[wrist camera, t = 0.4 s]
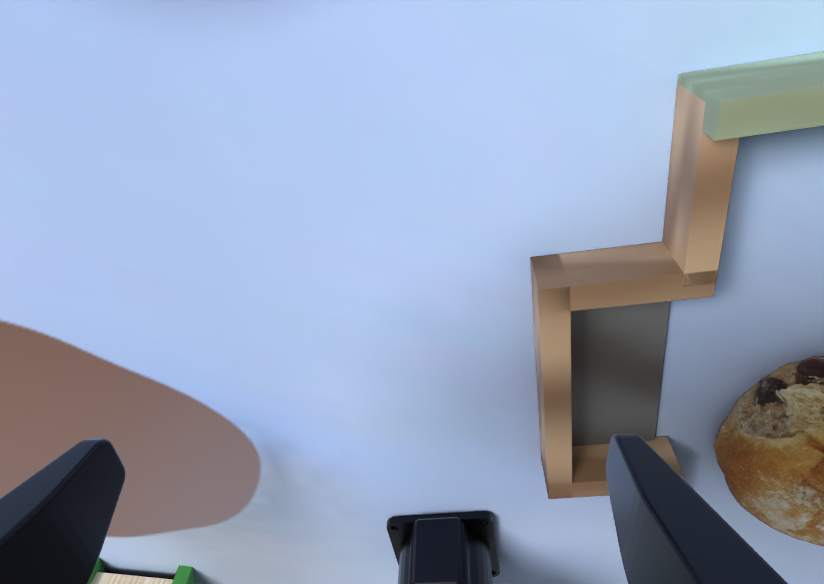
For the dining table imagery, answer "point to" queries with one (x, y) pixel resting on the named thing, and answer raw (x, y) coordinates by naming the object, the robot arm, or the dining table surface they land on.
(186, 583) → the hardback book
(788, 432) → the bread roll
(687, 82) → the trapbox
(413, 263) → the dining table surface
